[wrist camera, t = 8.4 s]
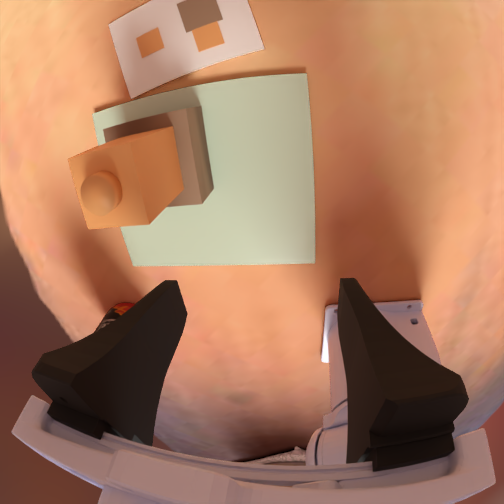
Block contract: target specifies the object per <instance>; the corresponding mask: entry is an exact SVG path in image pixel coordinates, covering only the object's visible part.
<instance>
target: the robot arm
mask: <svg viewBox="0 0 504 504" xmlns="http://www.w3.org/2000/svg"><path fill="white" fill-rule="evenodd" d="M409 305H410V306H409ZM407 306H408V307H407ZM422 308H423V302H422V301H421V300H411V301H397V302H381V303H373V302H372V301H371V300H370V299H369V297H368V296H367V294H366V293H365V292H364V290H363V289H362V287H361V286H360V285H359V283H358V282H357V280H356V279H355V278H341V279H340V289H339V300H338V305H328V306H327V307H326V308H325V319H324V332H323V343H322V354H321V361H322V362H325V363H326V362H329V373H330V395H331V413H329V414H327V415H324V416H323V427H322V428H319V429H317V430H316V431H315V432H314V433H313V435H312V436H311V439H310V441H309V443H308V446H307V450H306V458H305V461H306V466H285V465H263V464H249V463H239V462H230V461H222V460H215V459H209V458H202V457H197V456H191V455H186V454H181V453H176V452H172V451H167V450H163V449H159V448H155V447H152V443H153V434H154V426H155V420H156V414H157V408H158V404H159V399H160V394H161V390H162V387H163V383H164V379H165V376H166V373H167V370H168V368H169V365H170V363H171V360H172V358H173V355H174V353H175V350H176V348H177V346H178V343H179V341H180V338H181V336H182V333H183V330H184V326H185V322H186V318H187V311H186V308H185V305H184V301H183V298H182V295H181V292H180V289H179V286H178V282H177V280H165V281H164V282H162V283H161V284H159V285H158V286H157V287H156V288H154V289H153V290H152V291H151V292H150V293H148V294H147V295H146V296H145V297H143V298H142V299H141V300H140V301H139V302H137V303H136V304H135V305H134V306H132V307H131V308H130V309H129V310H127V311H126V312H125V313H123V314H122V315H121V316H119V317H118V318H117V319H115V320H114V321H112V322H111V323H109V324H108V325H106V326H105V327H103V328H102V329H100V330H98V331H96V332H94V333H93V334H91V335H89V336H87V337H85V338H83V339H81V340H79V341H77V342H75V343H72V344H70V345H68V346H66V347H63V348H60V349H57V350H54V351H51V352H48V353H44V354H43V355H42V357H41V358H40V360H39V361H38V363H37V364H36V366H35V367H34V369H33V370H32V376H33V379H34V380H35V382H36V383H37V384H38V385H39V387H41V389H42V390H43V391H44V392H45V393H46V394H47V395H48V396H49V397H50V398H51V399H52V400H53V402H52V404H51V405H49V404H48V403H47V402H45V401H43V400H41V399H39V398H37V397H35V396H31V397H30V399H29V400H28V402H27V404H26V406H25V407H24V409H23V411H22V413H21V415H20V416H19V418H18V420H17V422H16V424H15V426H14V428H13V430H12V434H14V435H15V436H16V437H17V438H19V439H20V440H21V441H22V442H24V443H25V444H26V445H28V446H29V447H30V448H32V449H33V450H35V451H36V452H37V453H39V454H40V455H41V456H43V457H45V458H46V459H48V460H49V461H51V462H53V463H54V464H56V465H58V466H60V467H61V468H63V469H65V470H66V471H69V472H70V473H72V474H74V475H76V476H78V477H80V478H82V479H83V480H85V481H87V482H89V483H91V484H93V485H95V486H98V487H100V488H102V489H103V490H102V493H101V496H100V499H99V502H98V504H453V503H456V502H459V501H461V500H464V499H466V498H468V497H470V496H472V495H474V494H476V493H478V492H480V491H482V490H484V489H486V488H488V487H489V486H491V485H493V484H494V483H495V476H494V469H493V464H492V459H491V454H490V450H489V445H488V441H487V436H486V433H485V429H484V428H482V429H479V430H476V431H473V432H470V433H467V434H464V435H461V436H459V437H457V438H455V439H453V437H452V432H454V429H455V428H454V424H453V421H454V420H455V419H456V418H457V417H458V415H459V414H460V413H461V412H462V411H463V410H464V408H465V407H466V405H467V403H468V400H469V398H468V395H467V392H466V388H465V385H464V383H463V381H462V378H461V376H460V375H458V374H456V373H455V372H453V371H451V370H449V369H447V368H445V367H444V366H442V365H441V362H440V357H439V354H438V351H437V348H436V345H435V343H434V340H433V338H432V335H431V332H430V330H429V327H428V325H427V322H426V320H425V318H424V315H423V313H422ZM336 309H338V310H337V311H335V310H336ZM272 485H275V486H272ZM281 486H292V487H281Z"/></svg>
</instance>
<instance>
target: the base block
mask: <svg viewBox="0 0 504 504" xmlns="http://www.w3.org/2000/svg"><path fill="white" fill-rule="evenodd" d="M171 126H173V129H174V135H175V141H176V147H177V152H178V158H179V164H180V169H181V174H182V180H183V185H184V190H183V191H182V192H181V193H180V194H179V195H178V196H177V197H176V198H175V199H174V200H173V201H172V202H171V203H170V204H169V205H168V206H167V207H175V206H186V205H198V204H203V202H204V201H205V200H206V198H207V197H208V196H209V195H210V193H211V192H212V191H213V189H214V185H213V178H212V172H211V166H210V160H209V153H208V147H207V140H206V134H205V127H204V120H203V113H202V106H197V107H191V108H186V109H181V110H176V111H171V112H166V113H162V114H157V115H153V116H149V117H145V118H141V119H137V120H133V121H129V122H126V123H122V124H119V125H115V126H112V127H109V128H105V129H103V132H104V137H105V142H106V143H107V142H109V141H112V140H115V139H117V138H121V137H125V136H129V135H133V134H138V133H142V132H146V131H151V130H156V129H161V128H166V127H171Z"/></svg>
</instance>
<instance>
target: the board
mask: <svg viewBox="0 0 504 504" xmlns="http://www.w3.org/2000/svg"><path fill="white" fill-rule="evenodd" d="M197 106H202V113H203V120H204V127H205V134H206V140H207V147H208V153H209V160H210V166H211V172H212V178H213V185H214V189H213V191H212V192H211V193H210V195H209V196H208V197H207V198H206V200H205V201H204V202H203V204H198V205H186V206H175V207H166V208H165V209H164V210H163V211H162V212H161V213H160V214H159V215H158V216H157V217H156V218H155V219H154V220H153V221H152V223H151V224H150V225H137V226H124V227H120V228H121V231H122V234H123V237H124V241H125V244H126V247H127V249H128V252H129V255H130V258H131V261H132V264H133V266H203V265H261V264H305V263H315V191H314V165H313V145H312V129H311V115H310V103H309V91H308V81H307V73H300V74H281V75H267V76H257V77H247V78H239V79H232V80H225V81H218V82H212V83H206V84H201V85H195V86H190V87H185V88H181V89H176V90H172V91H167V92H163V93H159V94H155V95H151V96H148V97H144V98H140V99H137V100H133V101H130V102H127V103H123V104H120V105H117V106H114V107H111V108H108V109H105V110H102V111H99V112H96V113H94V114H92V115H93V121H94V126H95V131H96V136H97V141H98V146H99V145H102V144H104V143H106V142H105V137H104V132H103V129H105V128H109V127H112V126H115V125H119V124H122V123H126V122H129V121H133V120H137V119H141V118H145V117H149V116H153V115H157V114H162V113H166V112H171V111H176V110H181V109H186V108H191V107H197Z"/></svg>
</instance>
